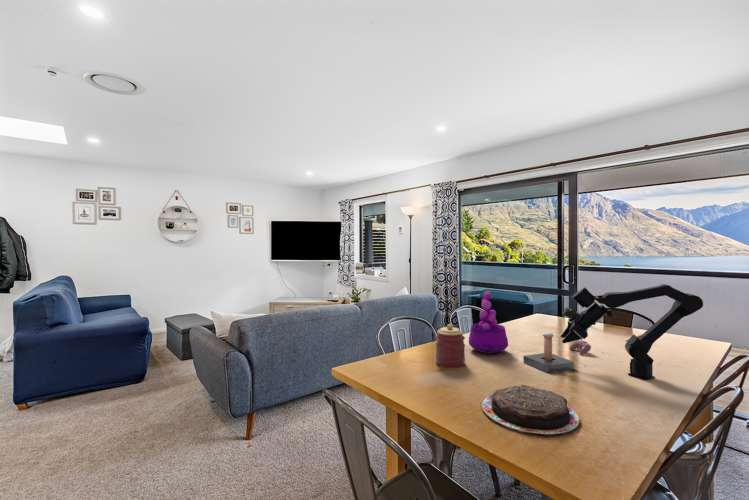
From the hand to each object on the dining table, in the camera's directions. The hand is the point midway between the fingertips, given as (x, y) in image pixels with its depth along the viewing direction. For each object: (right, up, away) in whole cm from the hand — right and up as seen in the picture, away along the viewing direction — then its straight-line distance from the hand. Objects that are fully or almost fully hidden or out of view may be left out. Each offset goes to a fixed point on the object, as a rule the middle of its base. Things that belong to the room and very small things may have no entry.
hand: (562, 339), depth 151 cm
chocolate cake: (-32, -13, -41) cm, 54 cm away
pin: (-5, -12, +2) cm, 13 cm away
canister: (-47, -13, +7) cm, 49 cm away
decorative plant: (-24, -12, +24) cm, 36 cm away
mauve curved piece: (+20, -12, +21) cm, 31 cm away
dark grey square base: (-5, -12, +2) cm, 13 cm away
